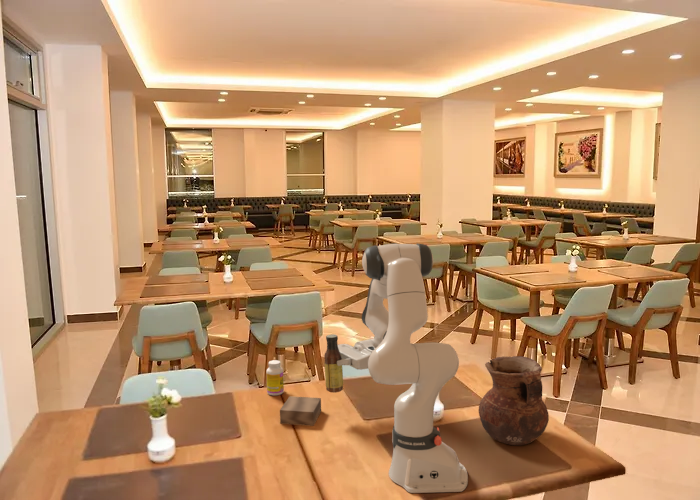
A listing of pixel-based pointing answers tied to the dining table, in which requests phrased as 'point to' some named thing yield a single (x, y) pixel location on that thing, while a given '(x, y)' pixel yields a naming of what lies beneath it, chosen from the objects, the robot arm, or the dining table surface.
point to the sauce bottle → (333, 365)
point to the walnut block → (300, 411)
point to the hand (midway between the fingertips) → (331, 360)
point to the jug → (514, 401)
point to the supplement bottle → (275, 378)
